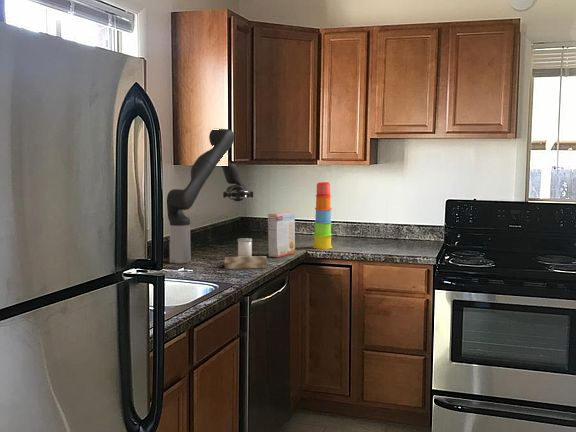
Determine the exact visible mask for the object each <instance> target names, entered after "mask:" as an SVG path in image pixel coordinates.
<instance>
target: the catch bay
mask: <svg viewBox="0 0 576 432" xmlns="http://www.w3.org/2000/svg"><path fill="white" fill-rule="evenodd" d="M267 259H268V258H267V255H266V256H265V255H264V256H263V255H258V256H253V255H252V256H251V257H238V256H224V269H225V270H226V269H227V270H230V269H231V270H232V269H233V270H234V269H240V270H241V269H267V268H268V267H267V265H268V264H267V262H268V261H267Z"/></svg>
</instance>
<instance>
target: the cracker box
mask: <svg viewBox="0 0 576 432" xmlns="http://www.w3.org/2000/svg"><path fill="white" fill-rule="evenodd" d="M295 218H296V216H295V212H294V211H292V212H291V211H283V212H274V213H268V214H267V234H268V239H267V240H268V241H267V242H268V257H269V258H281V257H286V256H291V255H295V254H296V243H295V242H296V239H295V238H296V235H295V234H296V227H295V225H296V224H295V223H296V222H295V221H296V220H295Z"/></svg>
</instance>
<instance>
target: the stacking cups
mask: <svg viewBox="0 0 576 432" xmlns="http://www.w3.org/2000/svg"><path fill="white" fill-rule="evenodd" d="M331 197H332V195H331V184H330V182H329V181H328V182H325V181H323V182H321V181H320V182H317V184H316V194H315V207H314V209H315V220H314V233H313V235H314V241H313V246H312V248H313V249H316V250H317V249H318V250H330V248H331V249H333V246H332V236H333V233H332V222H333V221H332V218H331V216H332V213H331V212H332V207H331Z"/></svg>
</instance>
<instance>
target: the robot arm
mask: <svg viewBox="0 0 576 432" xmlns="http://www.w3.org/2000/svg"><path fill="white" fill-rule="evenodd" d="M218 129H219V130H213V129H211V131H210V132H209V136H208V138H209V143H210V145H212V146H213V145H214V147H213V148H212V146H211V148H210V149H209V150H207V151H206V152H203V153H202V154H201V155H199V156H198V157H197V159H196V160H195V161H194V163H193V164H192V166H191V168H190V182H189V183H188V185H187V186H186V187H185V188H184V189H181V188H180V189H179V188H175V189H174V188H173V189H171V190H169V191H168V193H167V196H166V211H167V219H168V223H169V245H168V246H169V263H170V264H188V263H191V262H192V261H191V260H192V259H191V258H192V256H191V219H190V217H188V216H187V215H185V214H184V212H183V211H186V210H189V209H191V208H192V207H193V205H194V203H195V201H196V199H197V197H198V195H199V193H200V191H201V189H202V188H203V186H204V184H205V183H206V181H207V180H208V179H209V178H210V175H211V174H213V171H214V170H215V168H216V166H217V165H218V163H220V162H219V161H220V159H221V158H222V157H223V155H224V154H225V153H227V152H228V151H229V150H230V148H231V147H232V146H233V144H234V141H235V133H234V131H233V130H232V129H227V128H218ZM237 167H238V166H237V165H236V163H235V164H231V165H229V166H221V168H222V171H223V174H224V178H225V181H226V183H227V184H229V186H228V187H226V191H223V192H222V193H223V194H222V195H223V196H222V197H223V198H228V199H229V200H233V201H234V202H241V201H243V200H244V199H247V198H254V191H251V190H250V191H248V189H247V187H246V185H245V184H244V182H243V181H242V179H241V177H240V174H239V171H238V168H237Z"/></svg>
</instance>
